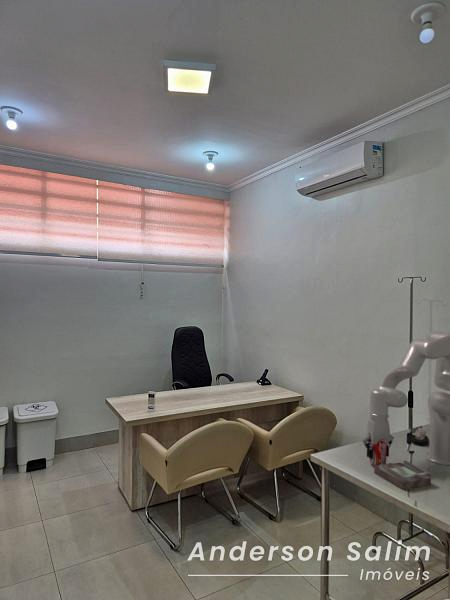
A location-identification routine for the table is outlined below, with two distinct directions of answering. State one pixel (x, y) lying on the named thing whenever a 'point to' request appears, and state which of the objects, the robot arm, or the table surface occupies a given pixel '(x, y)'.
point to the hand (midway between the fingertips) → (377, 456)
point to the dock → (404, 475)
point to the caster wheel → (419, 437)
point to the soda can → (379, 453)
